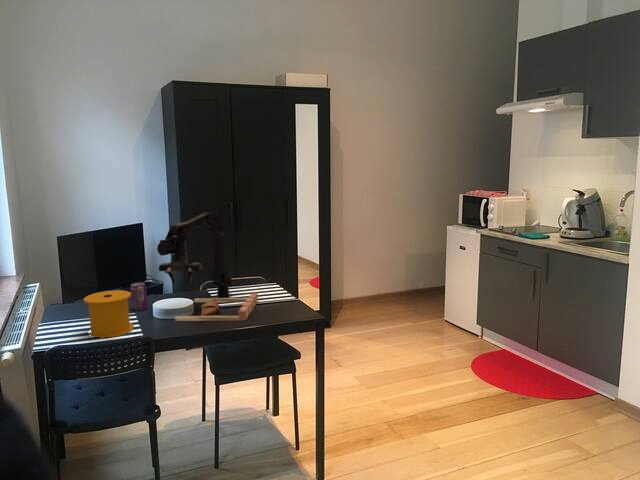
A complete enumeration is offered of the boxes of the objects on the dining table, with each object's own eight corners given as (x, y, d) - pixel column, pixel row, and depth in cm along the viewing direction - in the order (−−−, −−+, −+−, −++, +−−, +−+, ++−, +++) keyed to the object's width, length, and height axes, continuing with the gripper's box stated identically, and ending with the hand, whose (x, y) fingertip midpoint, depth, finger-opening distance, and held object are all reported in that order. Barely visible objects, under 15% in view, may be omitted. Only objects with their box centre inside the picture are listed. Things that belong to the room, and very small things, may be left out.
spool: (87, 341, 204) (83, 304, 202) (87, 327, 220) (83, 293, 218) (135, 333, 211) (132, 298, 209) (132, 321, 227) (129, 287, 225)
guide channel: (195, 301, 256) (194, 293, 255) (257, 300, 254) (257, 292, 253) (175, 320, 226) (174, 312, 225) (245, 320, 224) (245, 311, 223)
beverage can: (150, 306, 248) (148, 282, 246) (144, 311, 241) (141, 286, 239) (136, 306, 249) (134, 282, 247) (129, 311, 242) (127, 286, 240)
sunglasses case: (199, 305, 247) (205, 293, 247) (212, 311, 250) (218, 299, 249) (200, 317, 230) (207, 303, 230) (215, 323, 232) (222, 310, 232)
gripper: (152, 255, 229) (155, 289, 231) (194, 254, 228) (196, 289, 230) (162, 250, 240) (164, 283, 242) (201, 250, 239) (203, 283, 241)
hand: (182, 285), depth 239 cm, fingers open, 6 cm apart
